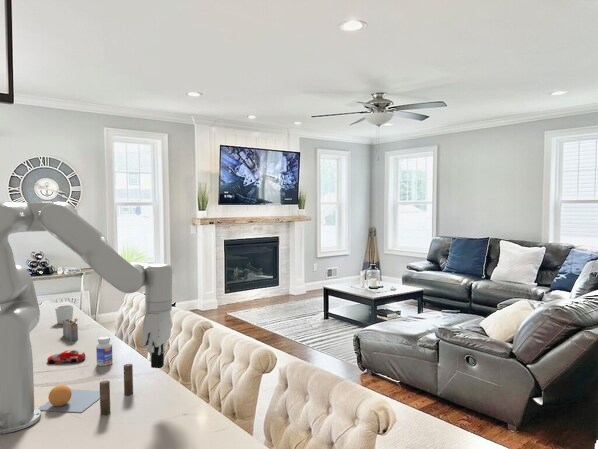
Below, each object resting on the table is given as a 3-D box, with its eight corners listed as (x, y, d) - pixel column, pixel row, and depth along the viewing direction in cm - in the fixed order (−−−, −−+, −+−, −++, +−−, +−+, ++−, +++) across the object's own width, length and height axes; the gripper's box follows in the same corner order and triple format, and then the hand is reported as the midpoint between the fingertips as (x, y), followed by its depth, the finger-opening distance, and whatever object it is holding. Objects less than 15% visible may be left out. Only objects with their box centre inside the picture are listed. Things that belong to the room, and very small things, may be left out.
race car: (44, 365, 162) (44, 354, 162) (51, 360, 167) (51, 349, 167) (81, 363, 163) (81, 353, 163) (87, 358, 168) (86, 348, 168)
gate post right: (130, 395, 135) (129, 366, 134) (122, 395, 135) (121, 366, 135) (134, 391, 138) (134, 363, 137) (126, 391, 138) (126, 363, 137)
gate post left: (107, 415, 122) (106, 384, 122) (98, 415, 122) (97, 384, 122) (112, 411, 125) (111, 380, 124) (103, 411, 125) (102, 380, 124)
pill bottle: (106, 366, 159) (105, 340, 159) (93, 365, 160) (92, 339, 160) (115, 361, 164) (115, 336, 164) (103, 360, 165) (102, 335, 165)
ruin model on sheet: (79, 340, 191) (78, 318, 191) (71, 342, 189) (70, 320, 188) (70, 335, 199) (69, 314, 199) (63, 336, 197) (62, 315, 196)
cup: (59, 320, 224) (58, 304, 223) (76, 318, 226) (75, 303, 226) (54, 325, 214) (53, 309, 213) (72, 324, 216) (71, 308, 216)
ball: (40, 404, 125) (59, 413, 125) (50, 385, 125) (69, 394, 125) (51, 396, 131) (69, 404, 131) (60, 378, 131) (78, 387, 131)
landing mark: (81, 412, 124) (81, 412, 124) (36, 410, 125) (36, 409, 125) (108, 391, 138) (108, 391, 138) (67, 389, 139) (67, 389, 139)
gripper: (157, 299, 136) (156, 357, 137) (133, 310, 121) (132, 375, 122) (180, 301, 135) (179, 359, 136) (159, 312, 120) (158, 377, 121)
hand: (157, 366), depth 129 cm, fingers closed
